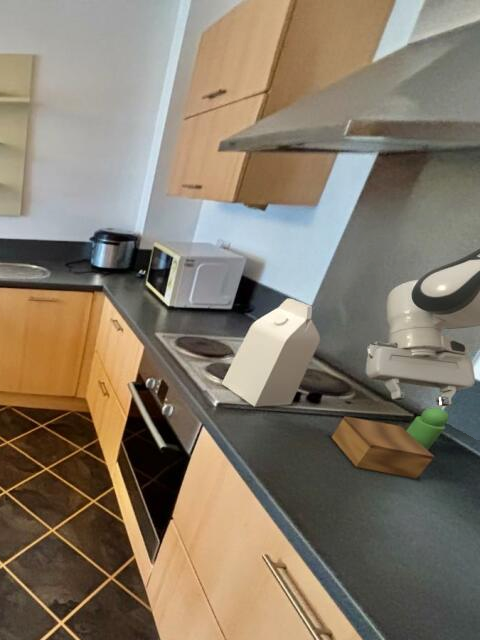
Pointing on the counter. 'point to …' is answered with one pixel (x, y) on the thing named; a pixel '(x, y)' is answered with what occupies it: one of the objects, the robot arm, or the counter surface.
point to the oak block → (381, 447)
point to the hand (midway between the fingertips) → (421, 402)
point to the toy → (428, 426)
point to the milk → (274, 356)
